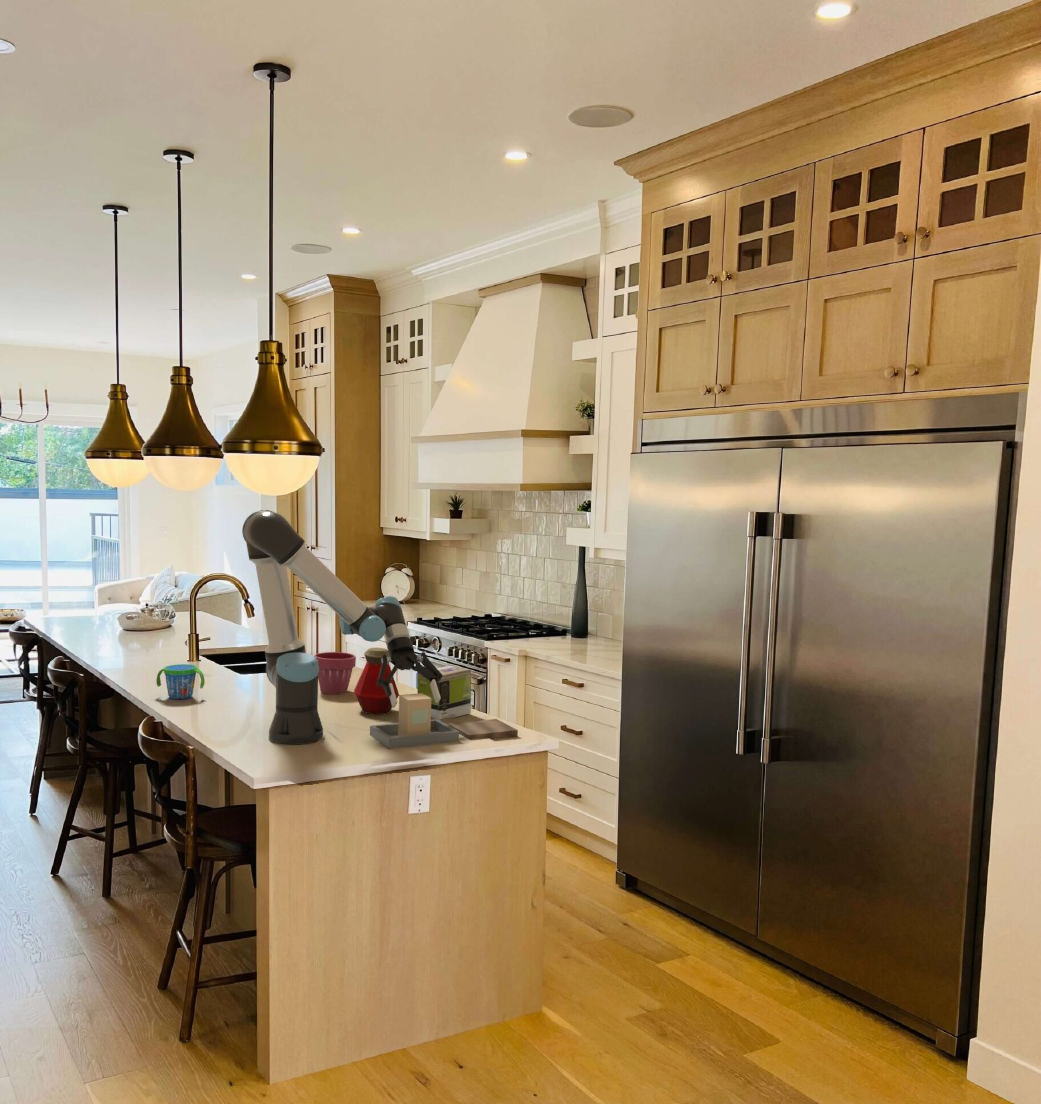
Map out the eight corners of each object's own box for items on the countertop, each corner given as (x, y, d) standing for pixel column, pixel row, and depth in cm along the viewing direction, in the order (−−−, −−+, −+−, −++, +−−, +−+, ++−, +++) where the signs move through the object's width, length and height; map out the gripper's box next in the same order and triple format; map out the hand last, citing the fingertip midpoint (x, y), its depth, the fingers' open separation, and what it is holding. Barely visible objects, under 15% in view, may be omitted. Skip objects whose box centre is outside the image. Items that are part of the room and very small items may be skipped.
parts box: (407, 742, 272) (408, 700, 271) (398, 735, 278) (399, 694, 277) (430, 739, 275) (431, 698, 274) (420, 733, 281) (421, 693, 280)
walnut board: (468, 741, 277) (468, 735, 277) (448, 730, 289) (448, 723, 289) (517, 736, 285) (517, 729, 285) (496, 725, 297) (496, 718, 297)
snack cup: (149, 699, 315) (150, 668, 314) (167, 692, 325) (167, 662, 325) (193, 702, 312) (194, 671, 311) (210, 695, 322) (210, 665, 322)
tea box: (448, 708, 316) (449, 664, 315) (471, 714, 310) (472, 669, 309) (415, 716, 305) (416, 670, 303) (438, 722, 298) (439, 675, 297)
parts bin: (388, 751, 265) (388, 738, 265) (369, 737, 278) (370, 725, 278) (458, 743, 275) (459, 731, 275) (437, 730, 288) (437, 719, 288)
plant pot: (360, 688, 341) (361, 653, 340) (346, 697, 327) (347, 660, 326) (322, 685, 343) (322, 650, 342) (306, 694, 329) (307, 657, 329)
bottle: (343, 709, 310) (345, 647, 309) (377, 703, 320) (378, 643, 319) (374, 718, 300) (376, 655, 298) (408, 712, 310) (409, 650, 308)
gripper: (432, 646, 301) (451, 705, 289) (356, 652, 289) (372, 713, 277) (440, 632, 296) (459, 692, 284) (362, 637, 283) (379, 699, 272)
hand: (416, 702), depth 281 cm, fingers open, 13 cm apart
